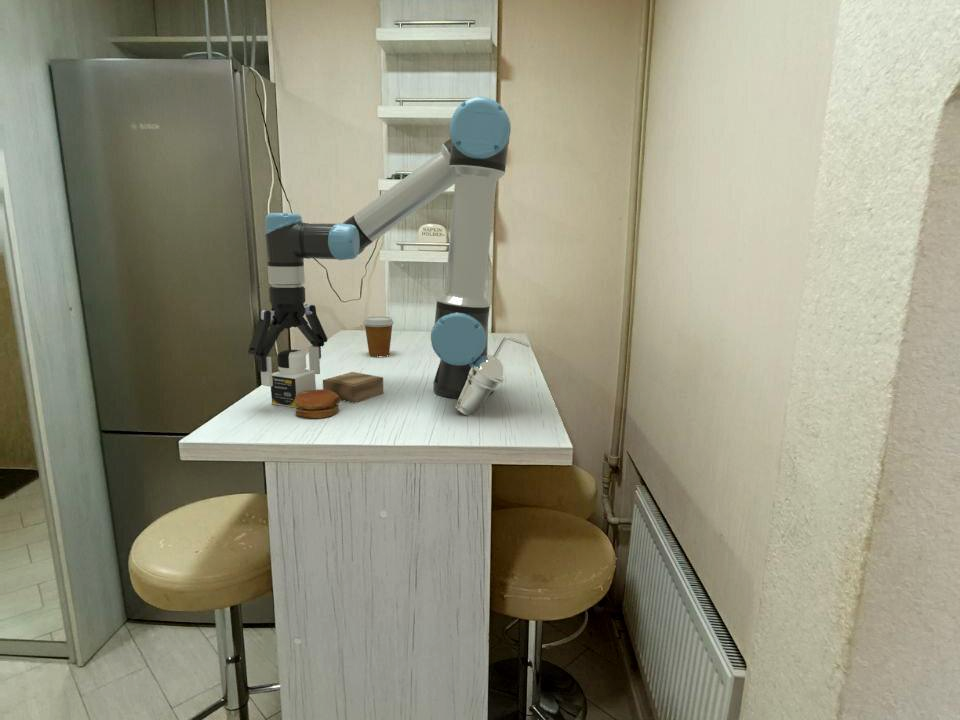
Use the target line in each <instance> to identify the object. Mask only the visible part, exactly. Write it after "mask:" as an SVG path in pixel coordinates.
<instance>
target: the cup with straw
mask: <svg viewBox="0 0 960 720" xmlns="http://www.w3.org/2000/svg"><path fill="white" fill-rule="evenodd" d="M507 340H508V341H511V342H513V343H516V344H519V345H523V346H525V347H527V348H529V347H530V343H529V342H526V341H522V340H520V339H517V338H514V337H512V336H507V335H506V336H505V337H503V339H502V340H501V342H500V344H499V345H498V347H497V349H496V351H495V352H494V354H493V355H491V354H487V355H482V356H480V357H478V358H477V359H476V360H475V361H473V362H472V363H469V365H470V367H471V368H470V370H469V374H468V376H467V377H468V378H467V380H466V382H465V385H464V387H463V389H462V392H461V394H460V396H459V398H457V403H456V404H455V406H454V407H455V409H456V410H457V411H459V413H461V414H463V415H465V416H467V417H470V415H471V416H473V415H475V414H476V413H477V412H478V411H479V410H480V408H481V406H482V405H483V404H484V403H485V401H486V399H487V398H488V397H489V394H490V393H491V391H493V390H494V391H495V389H496V388H497V387H498V385H499V384H503V383H504V380H505V378H504V377H503V376H504V366H503V363H502V361H501V360H500V359H498V358H497V357H498V356H499V353H500V352H501V350H502V348H503V347H504V344H505V343H506V341H507ZM494 391H493V392H494ZM490 395H491V394H490Z"/></svg>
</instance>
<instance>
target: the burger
mask: <svg viewBox="0 0 960 720" xmlns="http://www.w3.org/2000/svg"><path fill="white" fill-rule="evenodd" d="M295 403H296V405H297V406H298V407H297V408H295V415H296V416H298V417H301V416H302V417H304V418H309V419H324V418H330V417H332V415H333V416H335V415H337V414H338V413H339V403H341V400H340V397H339V396H338V395H337V394H336V393H335V392H333V391H330V390H324V389H323V388H321V389H316V390H309V391H303V392H302V393H299V394H298V395H297V396H296V398H295ZM337 412H338V413H337ZM336 413H337V414H336ZM334 414H335V415H334ZM329 416H330V417H329ZM323 417H324V418H323Z"/></svg>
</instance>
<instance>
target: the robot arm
mask: <svg viewBox="0 0 960 720" xmlns="http://www.w3.org/2000/svg"><path fill="white" fill-rule="evenodd" d="M511 127H512V126H511V121H510V118H509V114H508V113H507V112H506V110H505V109H504V107H503V106H502V105H501V104H500V103H498V102H497V101H496V100H494V99H492V98H490V97H486V96H474V97H471V98H469V99H466V100H464V101H463V102H462V103H460V105H458V107H456V109H455V110H454V112H453V115H452V116H451V120H450V124H449V133H450V134H449V136H450V138H449V139H448V140H446V141H445V142H443V143H442V145H441V149H440V151H439V152H438V153H437V154H435V155H433V157H431V158H430V159H428V160H427V161H425V163H423V164H422V165H420V166H418V168H416V169H415V170H413V171H412V172H411V173H409V174H408V175H406V176H405V177H403V178H402V179H401V180H400V181H398V182H397V183H395V184H394V185H393V186H392V187H390V188H389V189H388V190H386V191H385V192H383V193H382V194H381V195H379V196H378V197H376V198H375V199H374V200H372V201H371V202H370V203H368V204H367V205H365V206H364V207H363V208H361V209H360V210H358V211H357V212H356V213H355V214H353V215H351V217H349V218H348V219H346V220H345V221H343V222H342V223H341V222H338V223H308V222H304V221H303V217H302V216H301V214H299V213H292V212H290V213H289V212H288V213H286V212H270V213H268V214H267V215H265V221H264V222H265V226H264V228H265V229H264V230H265V232H264V237H265V246H266V258H267V260H266V261H267V276H268V277H267V278H268V279H267V280H268V284H269V285H271V286H270V287H269V288H268V291H269V292H268V295H269V296H268V297H269V303H270V304H271V310H267V309H266V310H265V309H260V310H259V311H258V321H257V324H256V326H255V330H254V333H253V335H252V338H251V341H250V344H249V348H248V350H247V354H248V355H251V356H255V357H256V361H257V370H258V372H260V382H261V385H262V386H266V387H269V388H271V386H273V382H272V373H273V371H272V370H273V368H272V357H271V356H269V353H270V352H271V350H272V348H273V347H274V345H275V343H276V342H277V340H278V338H279V336H280V334H281V333H282V332H284V331H285V329H286V330H287V329H292V328H297V329H298V330H299V331H300V332H301V333H302V334H303V336H304V337H305V338H306V340H307V341H308V342H309V343H310V344H311V345H308V363H309V364H308V365H309V367H308V368H309V370H314V371H315V375H321V365H320V364H321V363H320V362H321V361H320V360H321V359H322V353H321V352H322V348H321V347H324V346H325V343H327V342H328V337H327V335H326V332H325V330H324V328H323V326H322V323H321V322H320V319H319V317H318V314H317V309H316V306H315V305H314V304H308V303H306V287H304V286H303V285H304V284H305V283H306V280H305V267H304V265H305V264H304V260H305V259H316V260H317V259H318V260H319V259H320V260H338V261H345V260H355V259H356V258H357V257H358V255H361V253H363V252H364V251H365V250H366V248H367V247H368V246H370V245H371V244H372V243H374V242H375V241H376V240H378V239H379V238H380V237H382V236H383V235H385V234H386V233H387V232H389V231H390V230H392V229H393V228H395V227H396V226H397V225H399V224H400V223H402V222H403V221H405V220H406V219H407V218H408V217H410V216H412V215H413V214H415V213H416V212H417V211H419V210H420V209H421V208H423V207H424V206H425V205H427V204H428V203H430V202H431V201H433V200H434V199H436V198H437V197H438V196H439V195H441V194H443V193H444V192H445V191H447V190H448V189H449V188H451V187H452V186H454V190H453V202H452V210H451V222H450V233H449V242H448V243H449V245H448V253H447V261H446V262H447V263H446V275H445V284H444V292H443V293H442V294H441V295H440V296H439V297H437V298H436V306H435V318H434V325H433V327H432V330H431V332H430V342H431V347H432V350H433V351H434V353H435V355H436V356H437V357H438V358H439V359H440V361H439V364H438V367H437V370H436V373H435V376H434V380H433V383H432V384H433V387H432V388H433V389H432V390H433V392H434V393H435V394H436V395H438V396H442V397H444V398H450V399H451V398H452V399H459V396H460V394H461V392H462V389H463V387H464V385H465V382H466V380H467V378H468V377H467V376H468V374H469V370H470V368H471V367H470V365H469V363H472V362H473V361H475V360H476V359H477V358H478V357H480V356H482V355H488V349H489V348H488V347H489V346H488V344H489V343H488V341H489V340H488V339H489V335H488V334H489V317H490V307H491V306H490V305H491V303H490V302H488V300H487V299H486V297H485V289H486V280H487V272H488V262H489V255H490V254H489V253H490V246H491V245H490V243H491V237H492V236H491V235H492V228H493V227H492V225H493V216H494V208H495V199H496V189H497V182H498V181H499V180H500V179H501V178H503V177H504V176H505V173H506V168H507V159H508V151H509V150H508V149H509V145H510V136H511V132H512V131H511ZM305 303H306V304H305ZM304 316H305V317H306V318H305V317H304ZM494 391H495V389H494V390H493V391H491V393H490V394H489V395H492V394H493V393H494Z"/></svg>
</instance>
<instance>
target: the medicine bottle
mask: <svg viewBox="0 0 960 720" xmlns="http://www.w3.org/2000/svg"><path fill="white" fill-rule="evenodd" d="M306 356H307V353H306V352H305V351H303V350H300V349H286V350H282V351H280V352H278V353H277V366H278V367H277V369H278V371H276V372H275V371H274V372H272V382H273V386H271V387H270V395H271V396H270V397H271V404H272V405H274V406H275V405H278V406H282V407H289V408H294V407H295V409H296V408H298V406H297V405H296V403H295V398H296V396H297V395H298V394H299V393H302V392H303V391H309V390H317V385H316V384H317V383H316V374H315V371H314V370H310V369H307V358H306Z"/></svg>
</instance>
